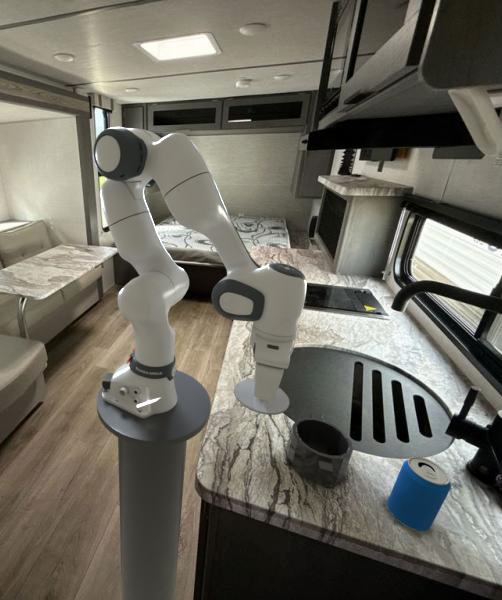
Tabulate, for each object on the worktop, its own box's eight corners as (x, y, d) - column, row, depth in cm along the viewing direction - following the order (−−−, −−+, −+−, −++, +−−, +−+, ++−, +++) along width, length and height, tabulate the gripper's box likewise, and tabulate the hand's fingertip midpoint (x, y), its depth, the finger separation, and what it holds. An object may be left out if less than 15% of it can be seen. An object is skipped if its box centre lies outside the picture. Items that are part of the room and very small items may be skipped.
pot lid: (230, 407, 69) (233, 390, 67) (236, 377, 79) (238, 362, 78) (289, 423, 65) (293, 406, 63) (287, 390, 75) (291, 374, 73)
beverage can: (422, 507, 60) (444, 461, 56) (435, 540, 54) (461, 492, 50) (382, 494, 62) (400, 449, 58) (391, 524, 57) (412, 477, 53)
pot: (288, 484, 64) (294, 457, 62) (285, 428, 79) (291, 405, 76) (352, 505, 60) (362, 477, 58) (337, 442, 75) (344, 418, 72)
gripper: (259, 318, 76) (250, 365, 81) (254, 358, 58) (243, 416, 64) (286, 322, 74) (276, 371, 79) (290, 366, 56) (275, 425, 61)
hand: (261, 391), depth 71 cm, fingers closed on pot lid, 2 cm apart
